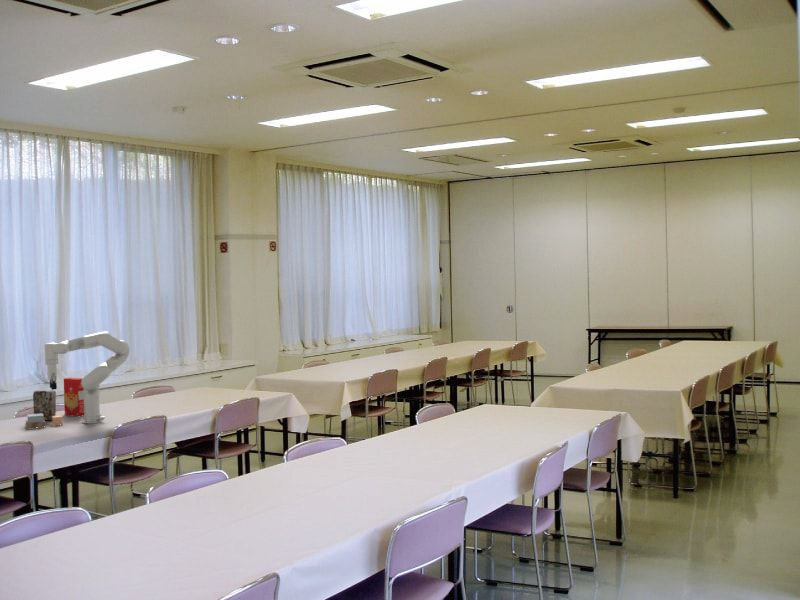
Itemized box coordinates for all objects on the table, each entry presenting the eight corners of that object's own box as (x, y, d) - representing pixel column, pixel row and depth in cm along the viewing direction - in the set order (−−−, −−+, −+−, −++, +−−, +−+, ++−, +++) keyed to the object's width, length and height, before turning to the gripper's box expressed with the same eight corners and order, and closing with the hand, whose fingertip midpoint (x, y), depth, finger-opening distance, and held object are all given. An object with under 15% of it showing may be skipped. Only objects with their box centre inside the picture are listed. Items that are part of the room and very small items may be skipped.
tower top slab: (43, 419, 520) (42, 413, 520) (43, 421, 512) (43, 415, 511) (27, 420, 516) (27, 414, 516) (27, 423, 508) (27, 416, 508)
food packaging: (64, 414, 555) (63, 378, 554) (71, 413, 560) (70, 377, 559) (78, 416, 548) (77, 379, 547) (85, 415, 552) (84, 378, 551)
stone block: (57, 419, 539) (56, 389, 538) (53, 421, 532) (52, 391, 531) (36, 419, 538) (36, 389, 538) (32, 421, 531) (31, 391, 531)
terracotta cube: (61, 423, 523) (61, 415, 523) (62, 425, 518) (62, 416, 518) (52, 424, 521) (52, 416, 521) (53, 426, 516) (52, 417, 516)
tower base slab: (44, 425, 521) (44, 419, 521) (45, 428, 511) (45, 421, 511) (25, 426, 516) (25, 420, 516) (26, 429, 507) (26, 423, 506)
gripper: (44, 361, 526) (45, 387, 527) (46, 363, 511) (48, 390, 512) (56, 360, 530) (58, 386, 530) (59, 362, 514) (61, 389, 515)
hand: (53, 388), depth 521 cm, fingers open, 9 cm apart
